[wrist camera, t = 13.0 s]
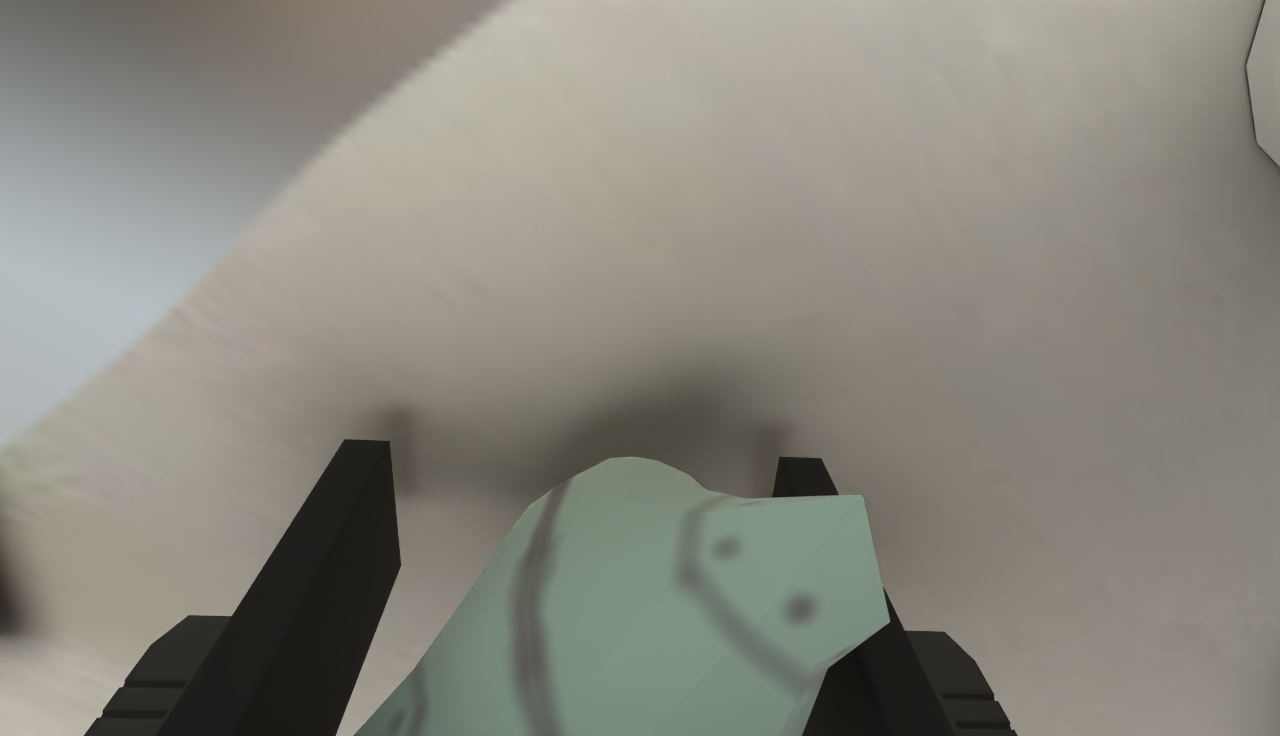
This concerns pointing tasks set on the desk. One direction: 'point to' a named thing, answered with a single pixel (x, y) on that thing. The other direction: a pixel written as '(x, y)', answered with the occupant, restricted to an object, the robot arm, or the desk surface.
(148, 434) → the desk surface
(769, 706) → the robot head
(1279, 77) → the foam cup
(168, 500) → the desk surface
